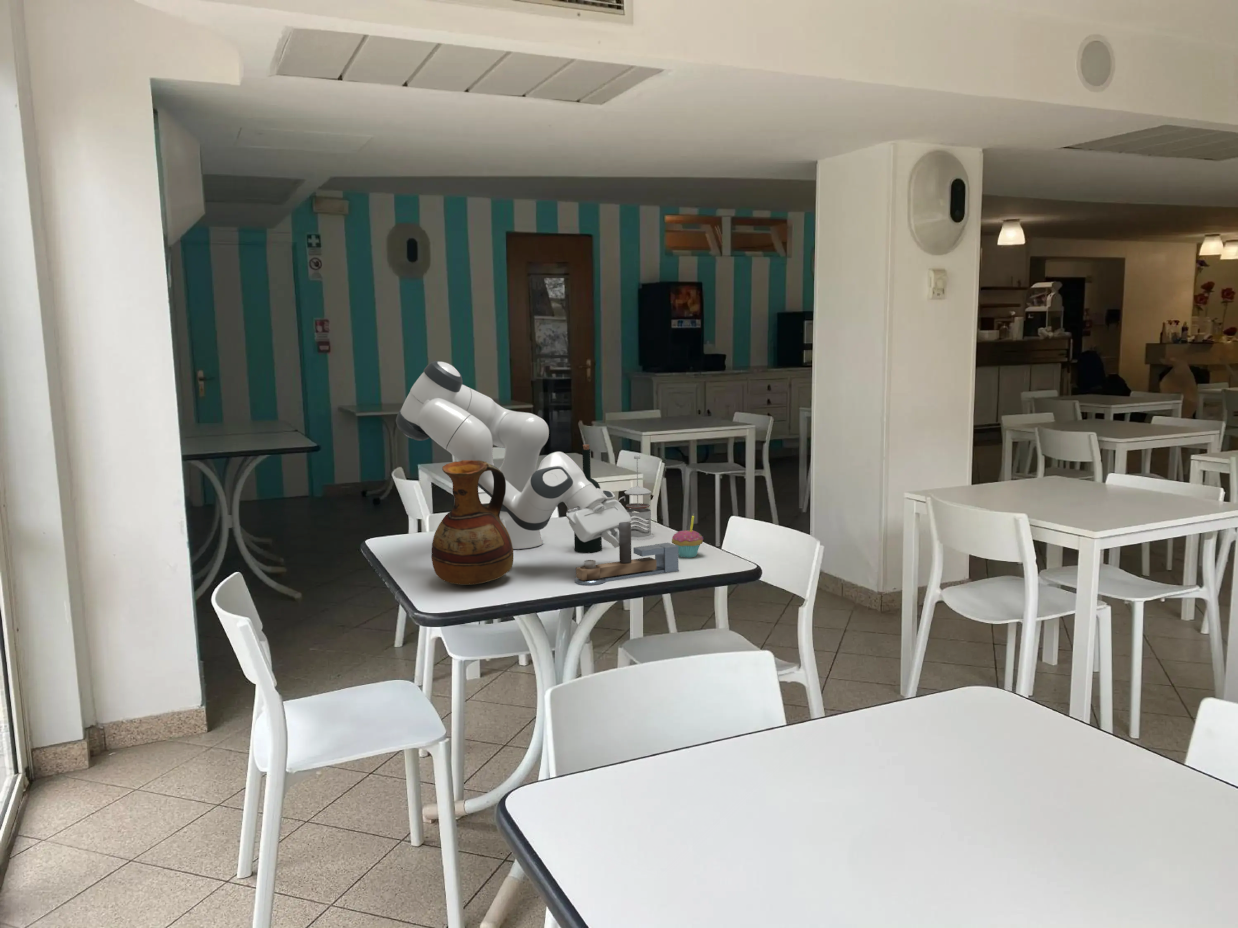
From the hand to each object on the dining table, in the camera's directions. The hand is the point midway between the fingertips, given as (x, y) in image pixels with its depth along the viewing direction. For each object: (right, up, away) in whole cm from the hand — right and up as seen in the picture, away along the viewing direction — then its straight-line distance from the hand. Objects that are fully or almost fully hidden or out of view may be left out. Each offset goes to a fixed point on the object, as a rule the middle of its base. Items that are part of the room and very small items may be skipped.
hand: (619, 545), depth 235 cm
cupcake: (+19, -5, +20) cm, 28 cm away
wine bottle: (-8, -4, +29) cm, 31 cm away
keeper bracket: (+2, -8, -1) cm, 8 cm away
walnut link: (-1, -7, -2) cm, 7 cm away
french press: (+5, -2, +46) cm, 46 cm away
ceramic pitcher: (-37, -8, -3) cm, 38 cm away
